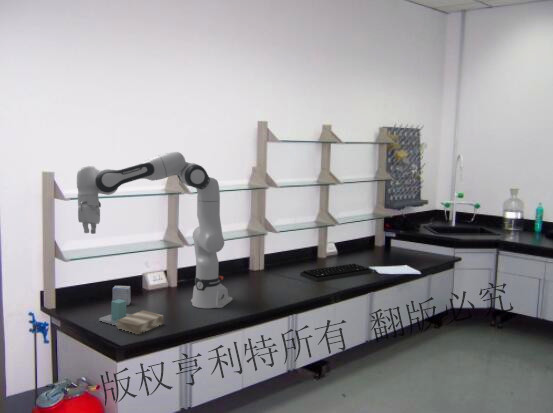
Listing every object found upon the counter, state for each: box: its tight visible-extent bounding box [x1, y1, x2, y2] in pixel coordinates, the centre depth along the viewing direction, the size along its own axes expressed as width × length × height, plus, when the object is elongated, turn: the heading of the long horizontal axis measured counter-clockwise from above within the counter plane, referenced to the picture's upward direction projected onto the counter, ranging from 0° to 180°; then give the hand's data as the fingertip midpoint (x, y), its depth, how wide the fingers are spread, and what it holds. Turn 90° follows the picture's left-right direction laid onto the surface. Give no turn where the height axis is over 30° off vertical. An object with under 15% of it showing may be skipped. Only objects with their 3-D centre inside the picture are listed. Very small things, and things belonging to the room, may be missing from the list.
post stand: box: [98, 312, 132, 327], centre depth 251 cm, size 12×12×6 cm
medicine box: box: [112, 285, 131, 306], centre depth 274 cm, size 8×4×9 cm, turn 92°
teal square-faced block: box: [110, 299, 127, 320], centre depth 251 cm, size 5×5×8 cm
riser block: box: [116, 309, 164, 335], centre depth 245 cm, size 16×12×4 cm
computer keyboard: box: [299, 263, 372, 283], centre depth 349 cm, size 45×16×4 cm, turn 125°
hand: (90, 233), depth 248 cm, fingers open, 8 cm apart
